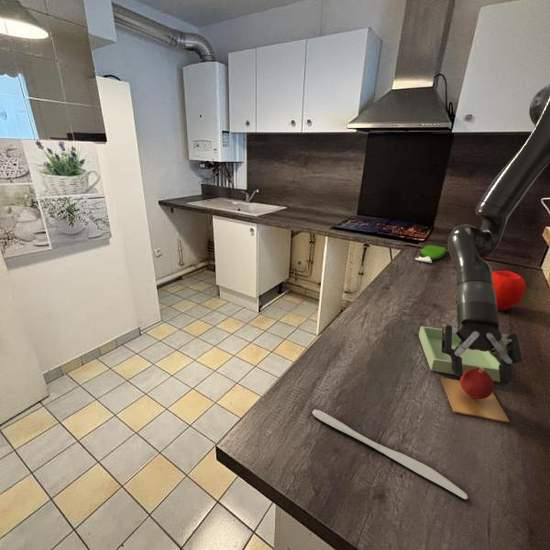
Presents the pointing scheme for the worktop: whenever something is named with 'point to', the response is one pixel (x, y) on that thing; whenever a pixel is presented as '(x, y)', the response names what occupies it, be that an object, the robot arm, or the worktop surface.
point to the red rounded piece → (477, 383)
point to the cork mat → (472, 402)
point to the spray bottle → (431, 253)
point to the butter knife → (393, 455)
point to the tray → (442, 361)
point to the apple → (508, 289)
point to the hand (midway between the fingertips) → (481, 379)
